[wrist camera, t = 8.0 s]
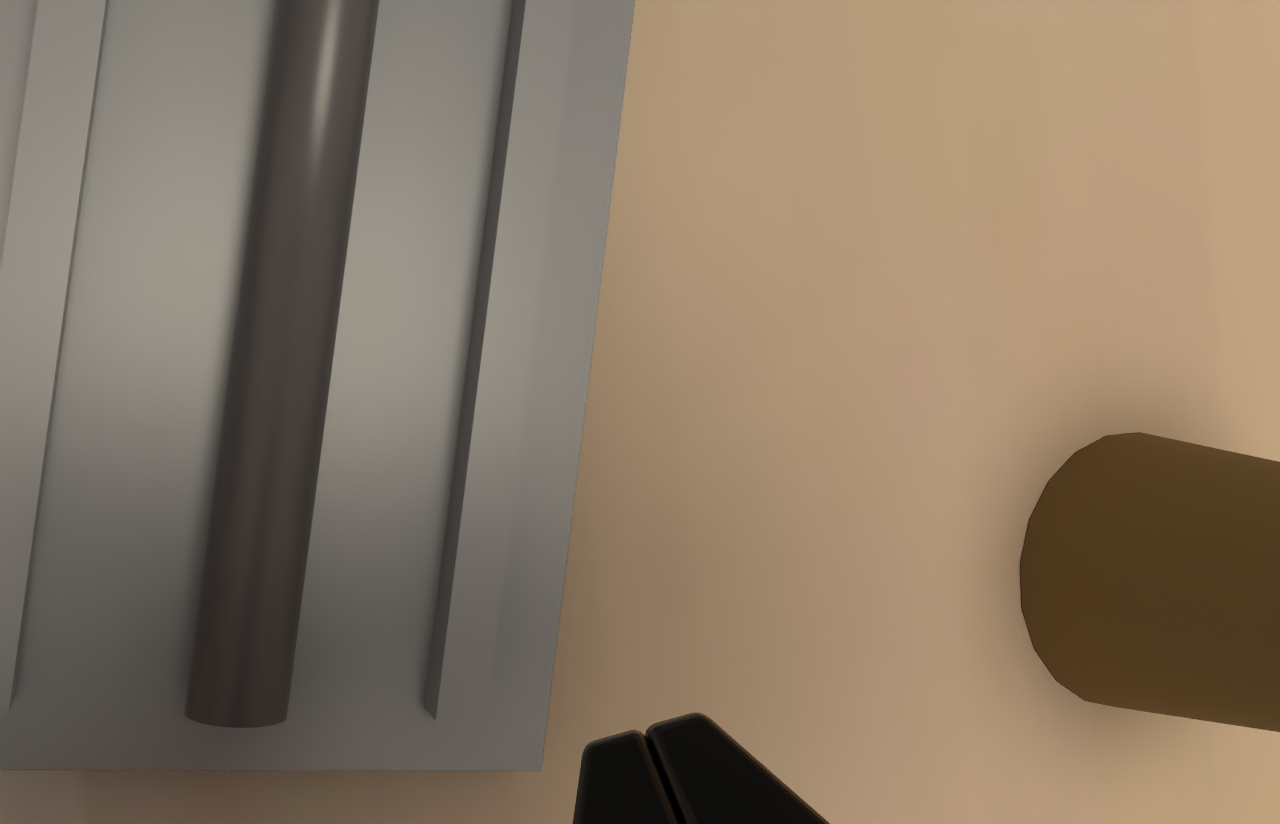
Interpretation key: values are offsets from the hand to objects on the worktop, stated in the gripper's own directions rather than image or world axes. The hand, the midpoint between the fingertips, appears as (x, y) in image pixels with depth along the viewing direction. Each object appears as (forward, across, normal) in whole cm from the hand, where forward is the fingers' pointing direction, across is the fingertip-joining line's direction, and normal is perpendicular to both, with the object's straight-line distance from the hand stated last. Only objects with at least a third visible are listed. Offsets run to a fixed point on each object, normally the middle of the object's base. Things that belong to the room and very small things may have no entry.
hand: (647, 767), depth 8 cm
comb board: (+15, +1, -3) cm, 16 cm away
